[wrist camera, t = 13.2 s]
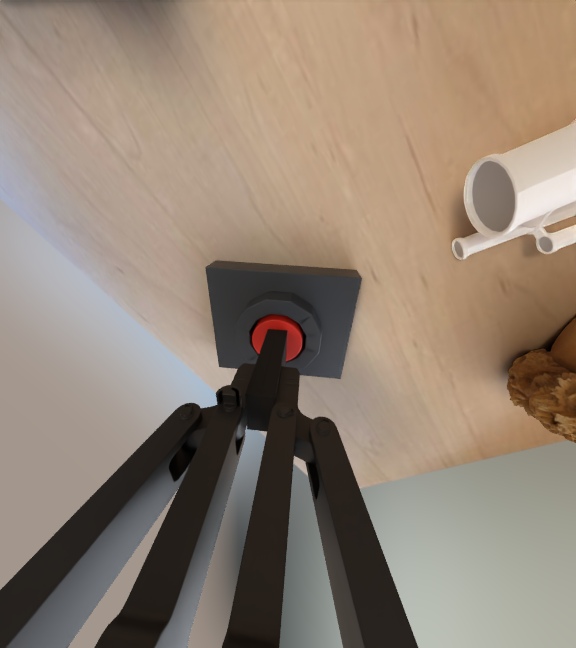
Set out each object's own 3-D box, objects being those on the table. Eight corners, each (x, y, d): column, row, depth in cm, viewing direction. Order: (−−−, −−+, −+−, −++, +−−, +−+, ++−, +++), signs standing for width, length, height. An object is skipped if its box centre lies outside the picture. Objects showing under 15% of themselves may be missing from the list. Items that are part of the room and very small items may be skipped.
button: (257, 348, 20) (252, 360, 19) (255, 307, 18) (250, 317, 17) (301, 352, 20) (300, 364, 18) (304, 311, 18) (304, 322, 16)
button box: (226, 353, 24) (211, 379, 21) (215, 260, 19) (194, 273, 16) (338, 364, 23) (342, 393, 20) (356, 270, 18) (367, 286, 15)
